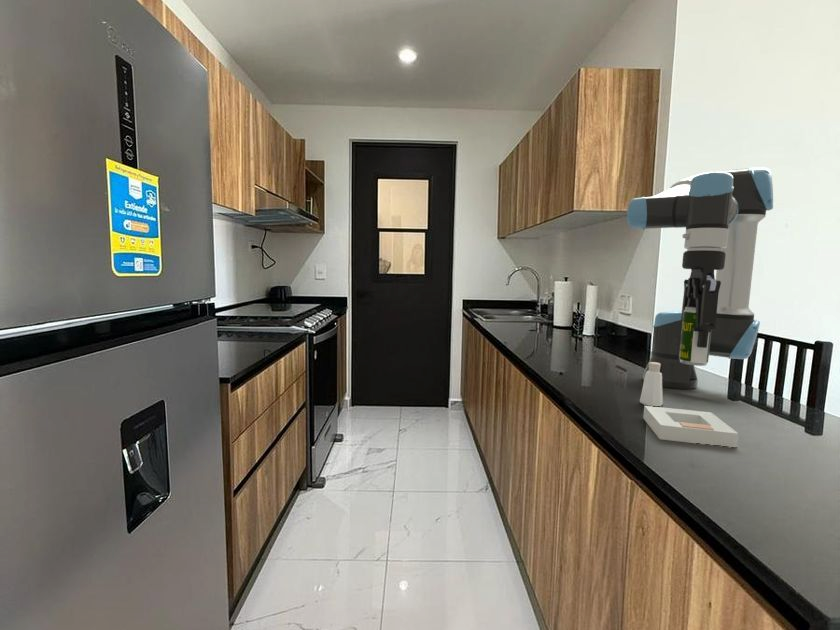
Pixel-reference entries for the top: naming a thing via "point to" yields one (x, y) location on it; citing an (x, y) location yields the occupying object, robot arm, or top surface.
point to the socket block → (689, 426)
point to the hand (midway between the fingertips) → (693, 359)
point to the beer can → (689, 337)
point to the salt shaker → (652, 386)
